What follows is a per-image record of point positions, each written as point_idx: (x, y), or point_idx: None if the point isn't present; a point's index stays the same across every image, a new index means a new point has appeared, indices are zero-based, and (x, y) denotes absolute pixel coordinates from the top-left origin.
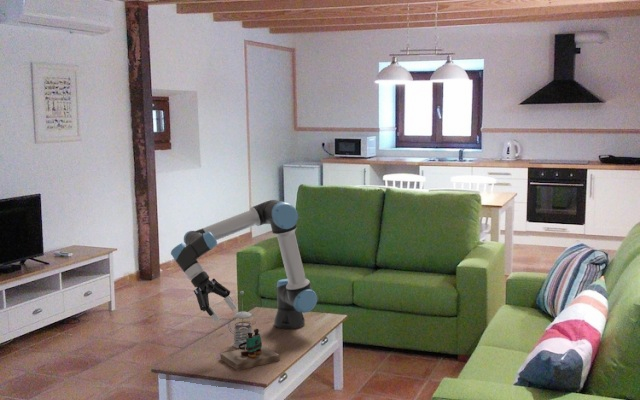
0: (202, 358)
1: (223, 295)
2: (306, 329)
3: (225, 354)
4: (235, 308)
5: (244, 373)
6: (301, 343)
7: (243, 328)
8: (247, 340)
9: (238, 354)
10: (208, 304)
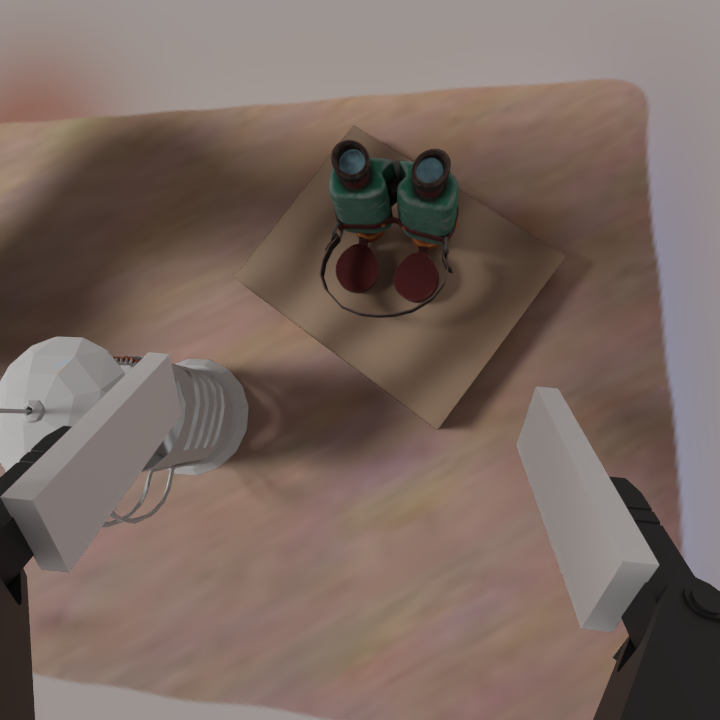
0: (459, 535)
1: (12, 598)
2: None
3: (442, 392)
4: (171, 366)
5: (577, 216)
6: (115, 155)
7: None
8: (455, 201)
9: (418, 322)
10: (680, 630)
